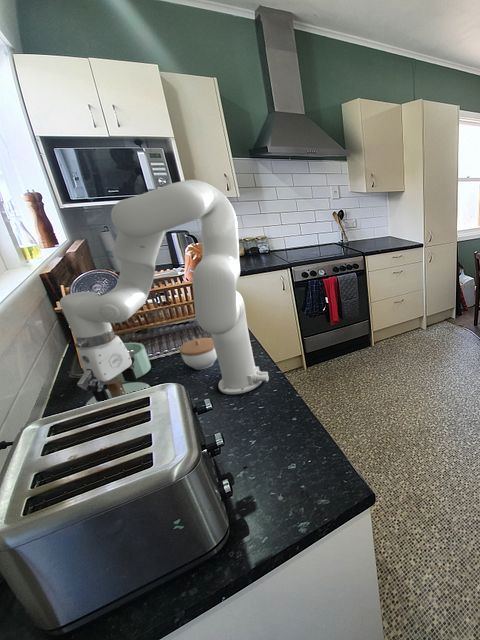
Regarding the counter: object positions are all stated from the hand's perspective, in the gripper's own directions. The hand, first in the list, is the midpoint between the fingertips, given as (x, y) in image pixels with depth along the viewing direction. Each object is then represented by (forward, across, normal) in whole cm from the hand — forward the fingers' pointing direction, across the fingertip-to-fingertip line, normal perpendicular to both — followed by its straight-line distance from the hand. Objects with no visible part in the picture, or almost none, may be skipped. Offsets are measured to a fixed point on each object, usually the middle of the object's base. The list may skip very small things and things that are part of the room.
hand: (118, 390), depth 99 cm
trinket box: (+4, +20, -12) cm, 24 cm away
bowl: (+3, +14, +10) cm, 18 cm away
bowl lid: (+3, 0, 0) cm, 3 cm away
